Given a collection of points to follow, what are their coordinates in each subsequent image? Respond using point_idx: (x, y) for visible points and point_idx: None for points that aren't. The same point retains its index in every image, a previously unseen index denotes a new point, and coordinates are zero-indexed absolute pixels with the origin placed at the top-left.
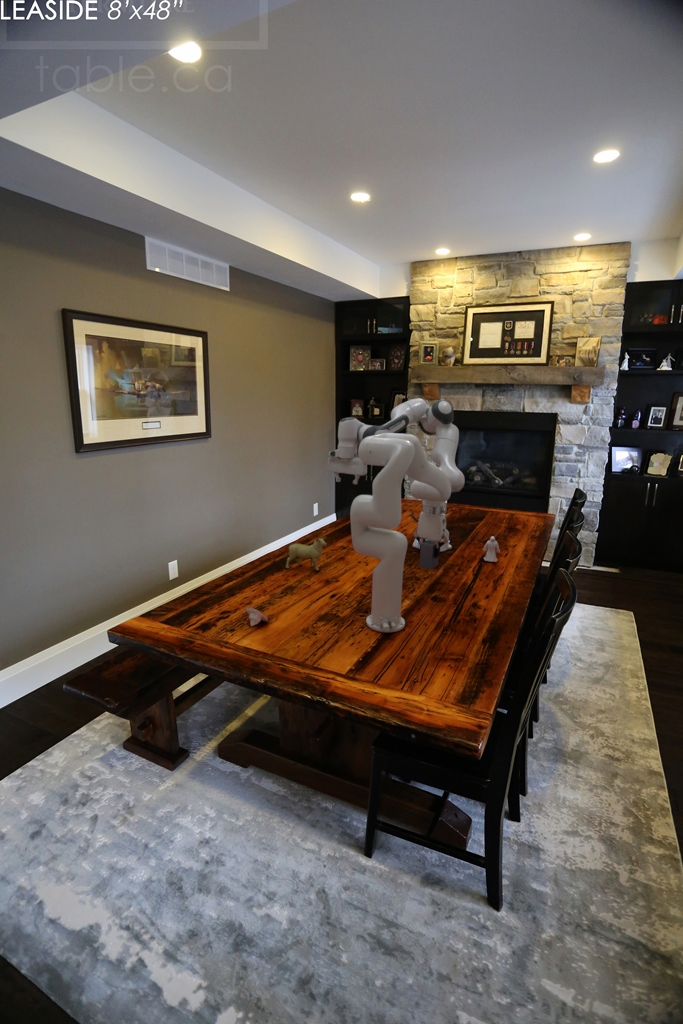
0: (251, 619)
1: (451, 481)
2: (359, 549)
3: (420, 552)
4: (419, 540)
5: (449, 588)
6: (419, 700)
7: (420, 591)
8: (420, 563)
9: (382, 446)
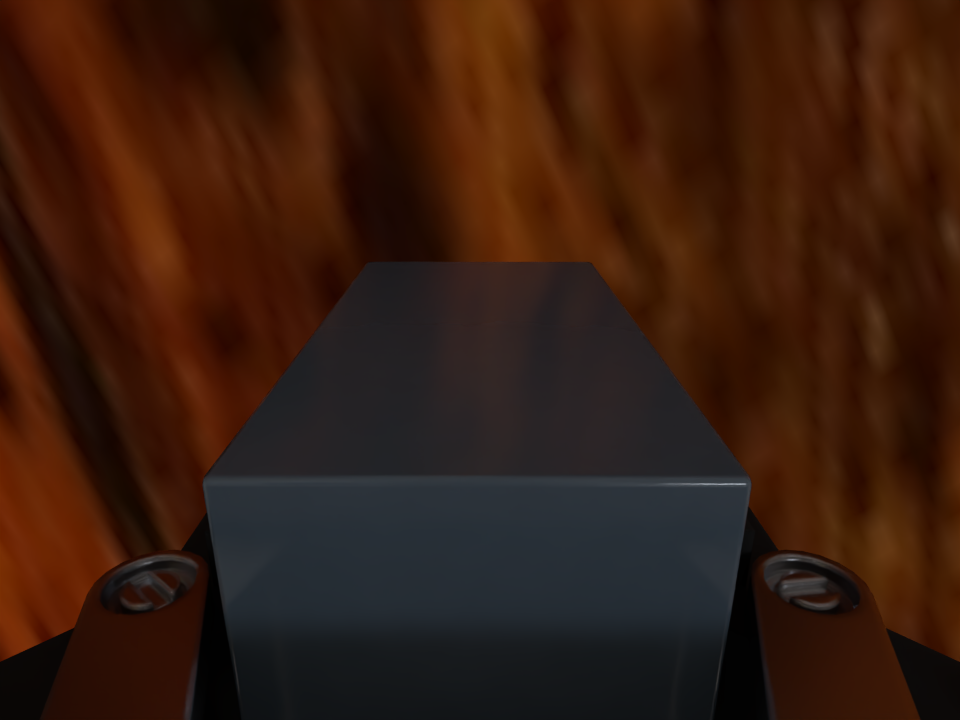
0: None
1: None
2: None
3: (648, 344)
4: (911, 692)
5: (266, 384)
6: None
7: (471, 106)
8: (582, 273)
9: None
